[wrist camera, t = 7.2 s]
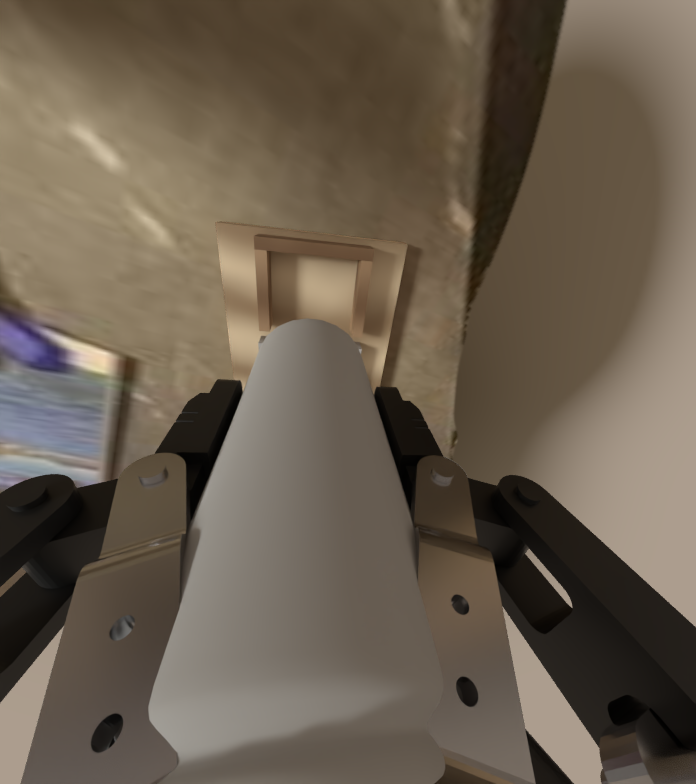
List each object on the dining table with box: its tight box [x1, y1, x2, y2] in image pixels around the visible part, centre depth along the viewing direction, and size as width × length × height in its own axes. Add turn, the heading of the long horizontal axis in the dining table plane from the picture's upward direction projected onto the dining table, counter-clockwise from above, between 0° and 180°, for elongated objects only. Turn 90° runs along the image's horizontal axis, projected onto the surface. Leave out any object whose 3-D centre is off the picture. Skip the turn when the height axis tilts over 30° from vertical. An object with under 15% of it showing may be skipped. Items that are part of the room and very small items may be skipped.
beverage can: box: [114, 318, 463, 784], centre depth 8 cm, size 5×5×12 cm
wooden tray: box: [215, 221, 408, 394], centre depth 28 cm, size 25×14×4 cm, turn 174°
